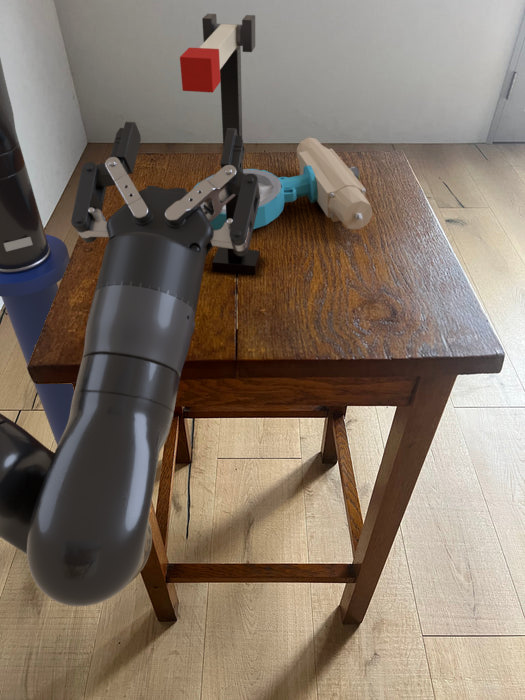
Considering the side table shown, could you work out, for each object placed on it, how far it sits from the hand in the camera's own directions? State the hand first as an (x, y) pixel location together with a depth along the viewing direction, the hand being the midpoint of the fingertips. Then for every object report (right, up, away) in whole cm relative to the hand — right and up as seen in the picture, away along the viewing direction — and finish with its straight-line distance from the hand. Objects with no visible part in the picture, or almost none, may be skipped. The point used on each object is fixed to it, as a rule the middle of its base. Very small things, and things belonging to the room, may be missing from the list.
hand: (182, 131), depth 47 cm
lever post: (+3, -6, +32) cm, 33 cm away
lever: (+2, +10, +9) cm, 14 cm away
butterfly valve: (+8, +5, +45) cm, 46 cm away
